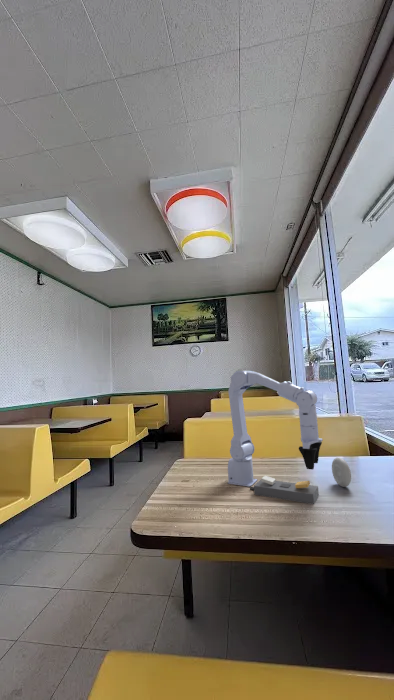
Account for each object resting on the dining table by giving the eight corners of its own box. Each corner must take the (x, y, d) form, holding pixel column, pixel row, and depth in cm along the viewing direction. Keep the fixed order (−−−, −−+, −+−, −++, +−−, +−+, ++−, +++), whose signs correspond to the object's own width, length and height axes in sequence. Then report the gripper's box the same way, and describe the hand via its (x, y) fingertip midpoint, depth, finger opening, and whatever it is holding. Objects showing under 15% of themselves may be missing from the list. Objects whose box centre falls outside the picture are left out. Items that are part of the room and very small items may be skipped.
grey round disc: (354, 490, 104) (351, 461, 105) (345, 491, 104) (342, 461, 105) (340, 481, 114) (337, 454, 115) (331, 481, 114) (328, 454, 115)
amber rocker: (295, 488, 100) (294, 485, 101) (298, 484, 103) (297, 481, 104) (307, 487, 98) (306, 484, 99) (310, 483, 102) (309, 480, 102)
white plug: (261, 481, 107) (261, 478, 107) (264, 478, 110) (265, 475, 110) (272, 485, 105) (272, 482, 105) (275, 481, 108) (275, 479, 108)
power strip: (246, 493, 107) (245, 484, 108) (254, 486, 114) (254, 477, 114) (314, 504, 95) (313, 493, 95) (318, 495, 102) (317, 485, 102)
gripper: (317, 429, 96) (321, 473, 95) (324, 422, 108) (328, 461, 107) (294, 428, 100) (298, 470, 98) (304, 422, 112) (307, 459, 111)
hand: (312, 465), depth 103 cm, fingers open, 7 cm apart
